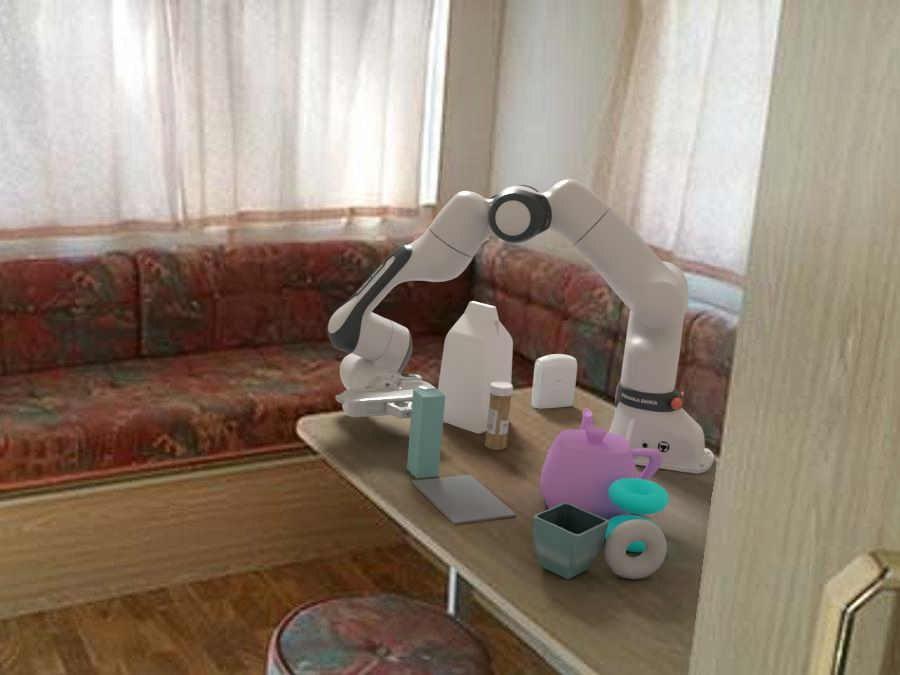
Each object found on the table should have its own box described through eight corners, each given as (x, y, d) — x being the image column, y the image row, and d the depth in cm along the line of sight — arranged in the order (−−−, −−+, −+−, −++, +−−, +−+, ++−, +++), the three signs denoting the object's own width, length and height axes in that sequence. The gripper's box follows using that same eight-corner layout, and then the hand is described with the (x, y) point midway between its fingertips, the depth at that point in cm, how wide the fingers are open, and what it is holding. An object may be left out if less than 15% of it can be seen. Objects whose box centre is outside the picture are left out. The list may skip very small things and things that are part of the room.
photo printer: (536, 410, 242) (542, 358, 238) (527, 404, 245) (533, 352, 242) (575, 407, 246) (581, 356, 243) (566, 401, 250) (572, 351, 246)
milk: (433, 418, 231) (443, 302, 224) (465, 407, 240) (475, 294, 233) (478, 433, 224) (490, 314, 217) (509, 421, 233) (521, 306, 226)
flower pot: (603, 571, 169) (610, 520, 166) (571, 589, 162) (578, 535, 160) (559, 551, 174) (565, 501, 172) (526, 568, 168) (532, 515, 165)
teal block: (406, 469, 202) (413, 389, 198) (428, 467, 204) (435, 387, 200) (416, 478, 198) (423, 397, 194) (438, 476, 200) (445, 395, 196)
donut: (603, 583, 165) (611, 524, 162) (597, 572, 168) (605, 514, 166) (665, 583, 167) (674, 525, 164) (658, 573, 170) (667, 515, 167)
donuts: (655, 505, 171) (599, 487, 176) (647, 561, 174) (592, 542, 179) (678, 486, 179) (624, 470, 184) (670, 541, 182) (617, 523, 187)
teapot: (661, 533, 184) (674, 452, 180) (540, 522, 184) (549, 441, 180) (643, 482, 206) (654, 408, 202) (534, 471, 206) (543, 398, 202)
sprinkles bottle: (508, 451, 216) (515, 388, 212) (486, 450, 215) (492, 387, 212) (504, 442, 220) (510, 380, 217) (482, 442, 219) (488, 380, 216)
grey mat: (411, 482, 196) (412, 480, 196) (470, 476, 201) (470, 474, 201) (454, 524, 181) (454, 522, 181) (515, 516, 186) (516, 514, 186)
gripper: (333, 380, 214) (357, 402, 202) (426, 374, 222) (454, 395, 210) (331, 409, 215) (355, 434, 203) (424, 402, 224) (452, 425, 212)
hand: (407, 414), depth 207 cm, fingers closed
